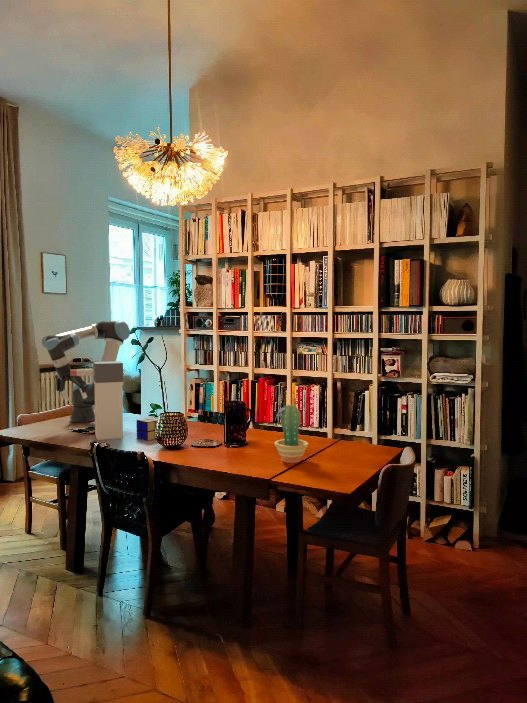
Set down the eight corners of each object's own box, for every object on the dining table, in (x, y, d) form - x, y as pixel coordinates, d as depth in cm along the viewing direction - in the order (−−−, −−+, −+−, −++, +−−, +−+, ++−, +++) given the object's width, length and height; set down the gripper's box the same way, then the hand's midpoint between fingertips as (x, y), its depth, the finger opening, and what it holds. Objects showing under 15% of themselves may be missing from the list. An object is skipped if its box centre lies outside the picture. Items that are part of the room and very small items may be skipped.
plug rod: (70, 376, 279) (70, 370, 278) (70, 375, 281) (70, 369, 281) (120, 374, 288) (120, 368, 288) (119, 373, 291) (119, 368, 291)
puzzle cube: (136, 438, 286) (136, 419, 285) (151, 435, 293) (151, 417, 293) (147, 441, 279) (147, 422, 279) (163, 438, 286) (163, 419, 286)
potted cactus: (285, 454, 254) (286, 401, 253) (314, 459, 245) (315, 404, 244) (267, 461, 242) (267, 405, 240) (296, 466, 233) (297, 409, 231)
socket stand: (96, 440, 280) (95, 363, 278) (94, 434, 293) (93, 361, 291) (124, 438, 285) (123, 363, 283) (120, 433, 298) (119, 361, 296)
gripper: (40, 371, 301) (55, 404, 306) (74, 364, 290) (88, 399, 296) (50, 365, 307) (64, 399, 313) (82, 359, 297) (97, 393, 302)
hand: (76, 399), depth 304 cm, fingers open, 13 cm apart
